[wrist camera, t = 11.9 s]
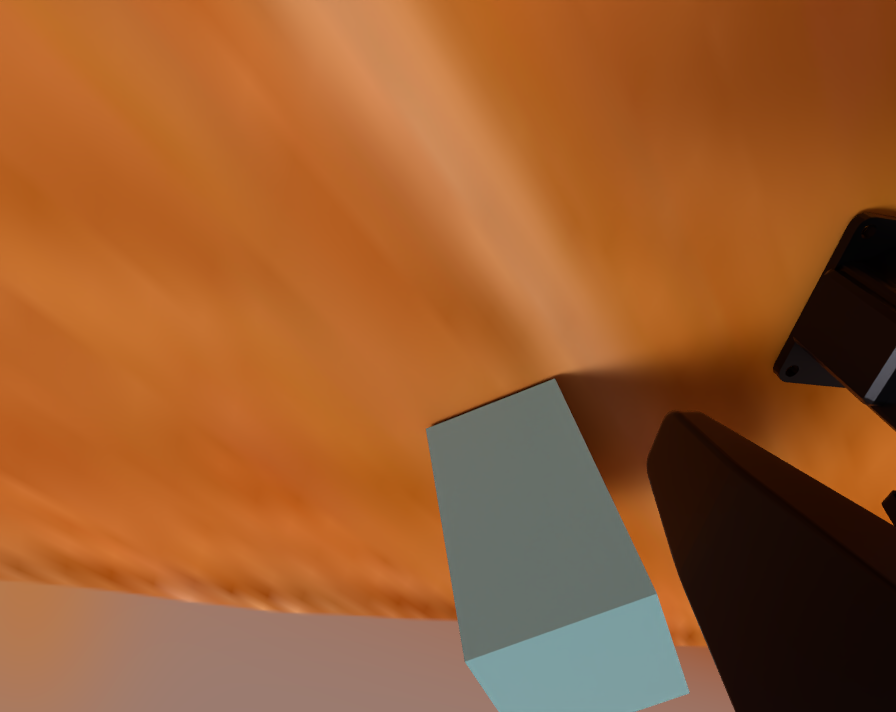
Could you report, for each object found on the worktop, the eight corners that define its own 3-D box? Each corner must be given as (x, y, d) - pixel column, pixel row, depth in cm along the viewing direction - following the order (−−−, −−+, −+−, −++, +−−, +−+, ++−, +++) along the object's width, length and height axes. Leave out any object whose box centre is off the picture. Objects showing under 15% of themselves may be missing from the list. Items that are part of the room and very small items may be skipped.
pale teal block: (554, 378, 24) (656, 593, 16) (588, 471, 26) (689, 693, 19) (426, 428, 24) (464, 661, 16) (472, 514, 27) (524, 749, 19)
